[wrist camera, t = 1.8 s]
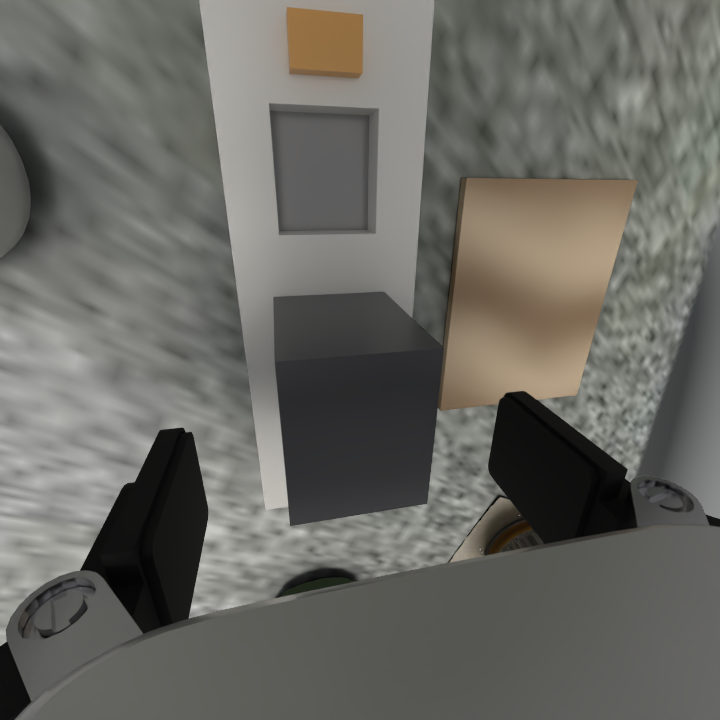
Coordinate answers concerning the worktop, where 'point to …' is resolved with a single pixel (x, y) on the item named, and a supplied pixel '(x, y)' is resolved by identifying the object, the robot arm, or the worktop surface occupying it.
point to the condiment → (498, 533)
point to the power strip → (316, 163)
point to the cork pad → (528, 285)
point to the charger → (354, 404)
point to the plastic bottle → (12, 195)
